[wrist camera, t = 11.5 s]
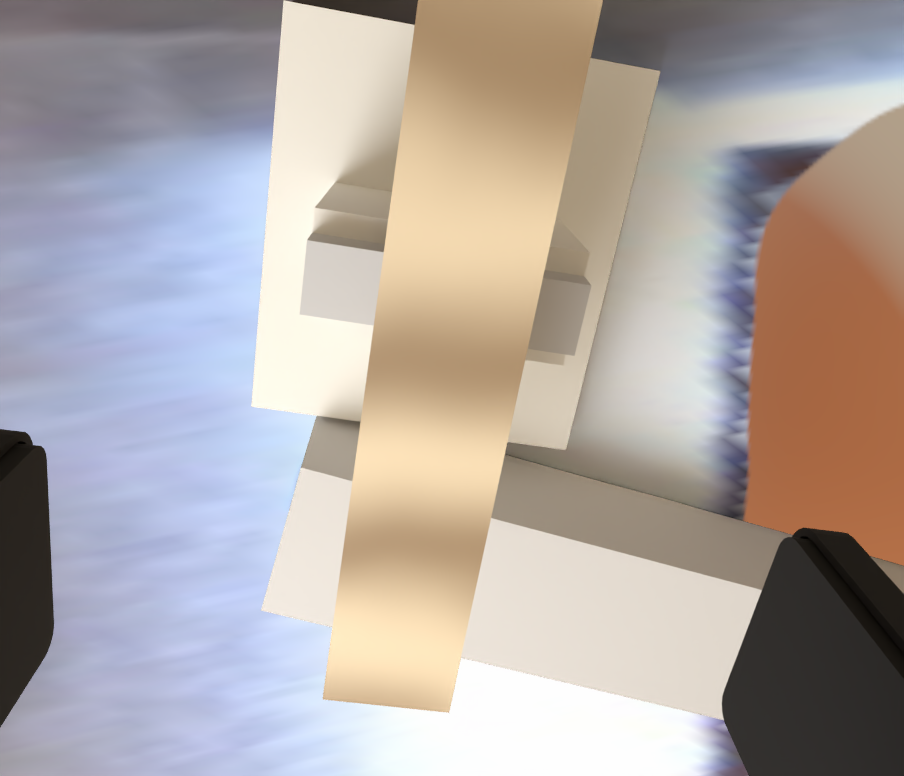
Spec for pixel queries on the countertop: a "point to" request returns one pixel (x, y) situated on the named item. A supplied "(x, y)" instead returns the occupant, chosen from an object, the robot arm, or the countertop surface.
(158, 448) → the countertop surface
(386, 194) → the balance stand
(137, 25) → the countertop surface
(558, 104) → the beech batten
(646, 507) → the white flat block
